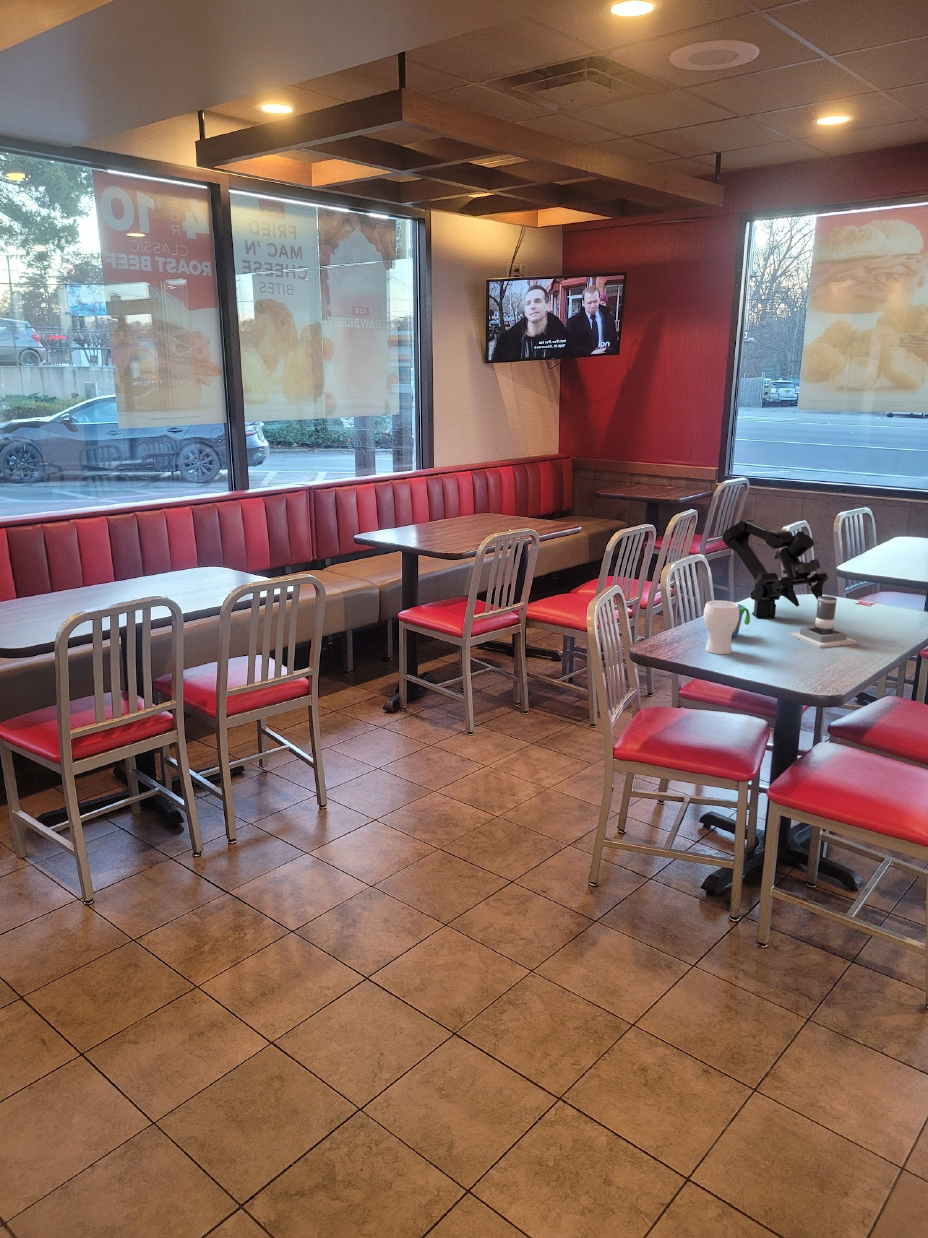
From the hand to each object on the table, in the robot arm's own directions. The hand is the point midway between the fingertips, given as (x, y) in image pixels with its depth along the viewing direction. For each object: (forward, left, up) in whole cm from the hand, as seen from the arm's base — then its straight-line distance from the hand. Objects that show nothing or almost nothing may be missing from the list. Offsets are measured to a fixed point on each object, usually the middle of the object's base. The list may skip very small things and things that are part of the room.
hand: (809, 604), depth 297 cm
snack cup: (-28, -3, -10) cm, 30 cm away
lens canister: (+2, -8, -9) cm, 12 cm away
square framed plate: (+2, -8, -10) cm, 13 cm away
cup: (-35, -20, -10) cm, 42 cm away
